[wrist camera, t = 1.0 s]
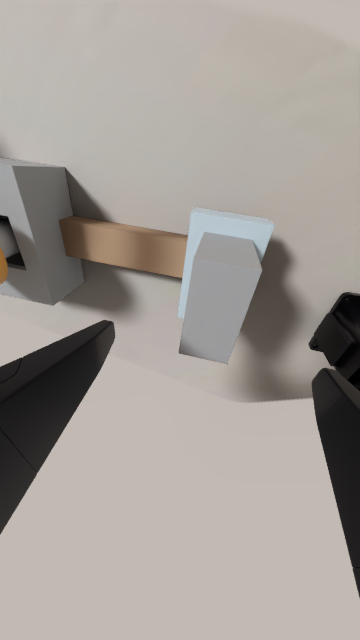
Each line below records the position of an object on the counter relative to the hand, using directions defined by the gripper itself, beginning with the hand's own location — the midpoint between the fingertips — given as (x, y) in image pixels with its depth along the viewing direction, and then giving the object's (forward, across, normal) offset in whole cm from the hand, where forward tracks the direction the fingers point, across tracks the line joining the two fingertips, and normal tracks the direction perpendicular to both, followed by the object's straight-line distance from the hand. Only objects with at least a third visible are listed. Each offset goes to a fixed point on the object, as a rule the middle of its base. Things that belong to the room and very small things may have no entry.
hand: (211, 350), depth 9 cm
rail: (+12, +6, 0) cm, 13 cm away
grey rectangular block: (+12, +17, 0) cm, 21 cm away
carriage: (+9, 0, 0) cm, 9 cm away
